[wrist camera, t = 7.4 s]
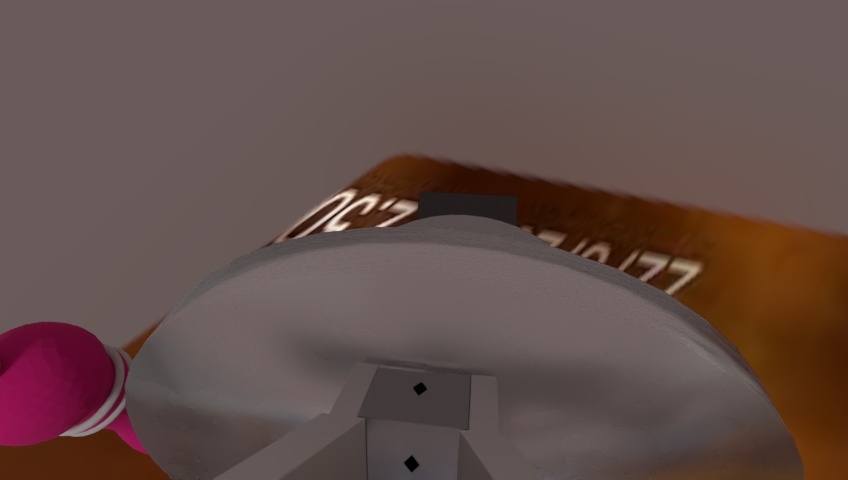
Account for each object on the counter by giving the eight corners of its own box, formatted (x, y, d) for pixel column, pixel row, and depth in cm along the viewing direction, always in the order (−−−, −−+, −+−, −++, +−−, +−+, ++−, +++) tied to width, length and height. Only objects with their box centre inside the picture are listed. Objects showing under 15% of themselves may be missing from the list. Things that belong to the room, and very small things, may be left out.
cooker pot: (563, 262, 39) (602, 191, 28) (573, 542, 29) (637, 596, 19) (375, 249, 41) (344, 179, 30) (328, 504, 32) (259, 534, 21)
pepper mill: (205, 349, 38) (-25, 262, 20) (266, 389, 36) (70, 330, 18) (148, 426, 35) (-175, 404, 17) (210, 473, 33) (-83, 502, 15)
